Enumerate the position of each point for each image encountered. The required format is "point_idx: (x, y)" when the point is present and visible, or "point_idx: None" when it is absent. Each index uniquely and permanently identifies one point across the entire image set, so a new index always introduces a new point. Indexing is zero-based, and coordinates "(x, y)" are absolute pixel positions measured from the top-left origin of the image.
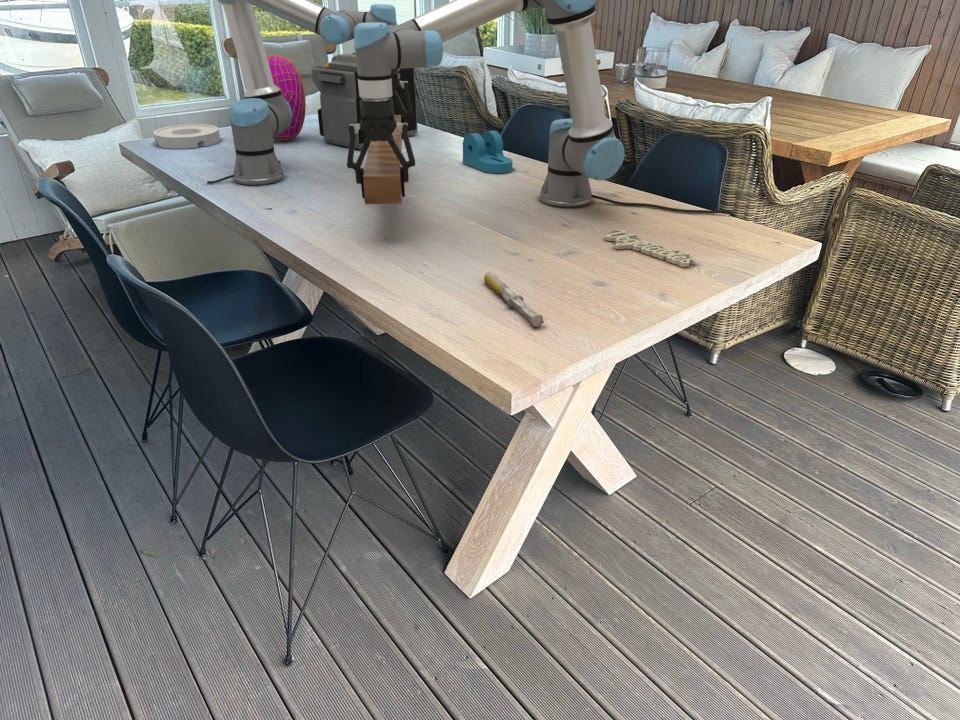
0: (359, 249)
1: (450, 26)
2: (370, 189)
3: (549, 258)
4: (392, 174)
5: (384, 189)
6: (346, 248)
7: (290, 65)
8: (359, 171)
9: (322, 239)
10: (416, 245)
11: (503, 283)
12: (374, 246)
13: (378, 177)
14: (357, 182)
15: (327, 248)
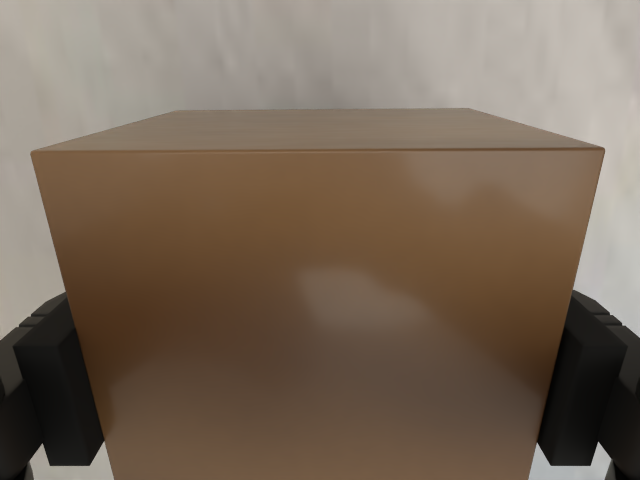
0: (448, 64)
1: None
2: (449, 122)
3: None
4: (161, 242)
5: (295, 122)
6: (509, 82)
7: None
8: (620, 367)
9: (604, 204)
10: (183, 102)
11: None
12: (377, 101)
13: (362, 148)
14: (578, 295)
15: (597, 88)
